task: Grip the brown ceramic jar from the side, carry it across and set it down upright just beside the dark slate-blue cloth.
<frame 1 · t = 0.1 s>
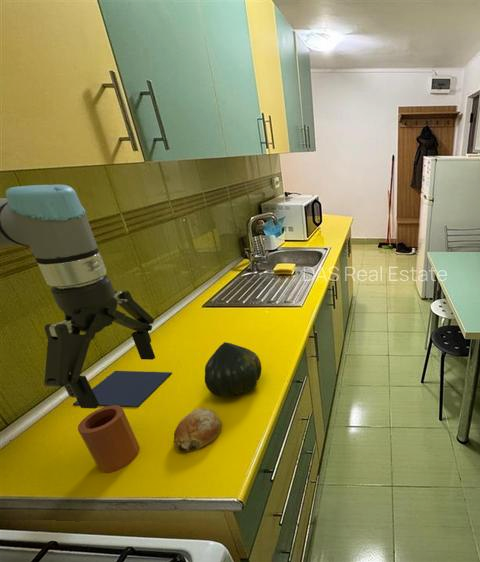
hand: (122, 380, 60), 23 cm above the counter, tool pointing down, fingers open, 13 cm apart
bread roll: (199, 436, 75), on the counter
squash: (236, 387, 90), on the counter
jar: (120, 457, 70), on the counter
cloth: (126, 388, 90), on the counter
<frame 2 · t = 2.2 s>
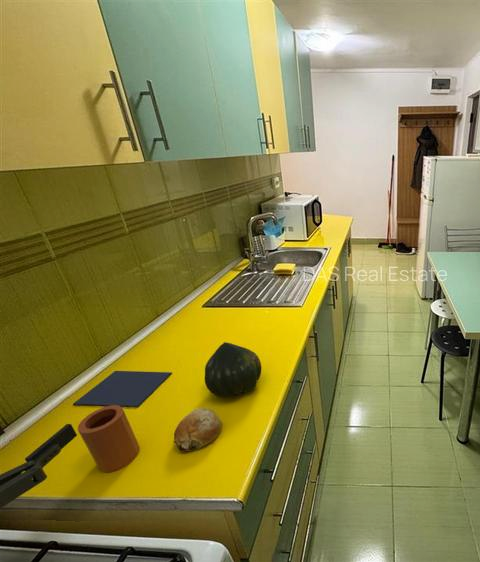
hand: (35, 428, 53), 20 cm above the counter, tool horizontal, fingers open, 13 cm apart
nothing on the counter moved.
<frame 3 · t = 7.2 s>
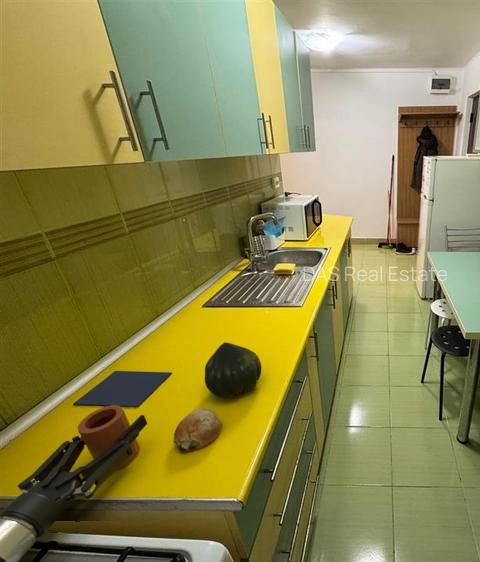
hand: (127, 418, 71), 7 cm above the counter, tool horizontal, fingers closed on jar, 7 cm apart
jar: (120, 457, 70), on the counter, touching gripper
everything else where it was.
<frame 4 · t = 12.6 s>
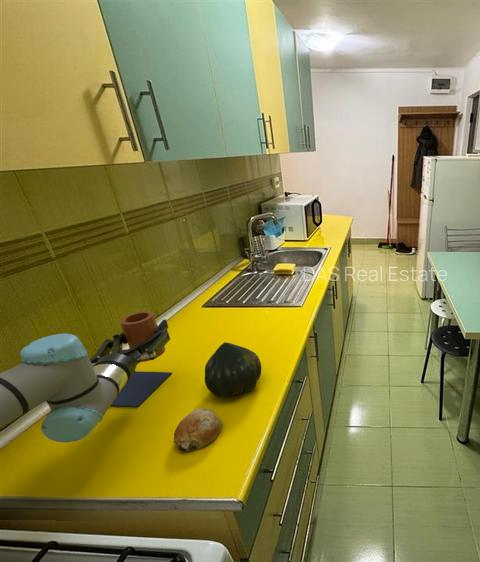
hand: (150, 325, 89), 18 cm above the counter, tool horizontal, fingers closed on jar, 7 cm apart
jar: (150, 353, 87), point 11 cm above the counter, touching gripper
everything else where it was.
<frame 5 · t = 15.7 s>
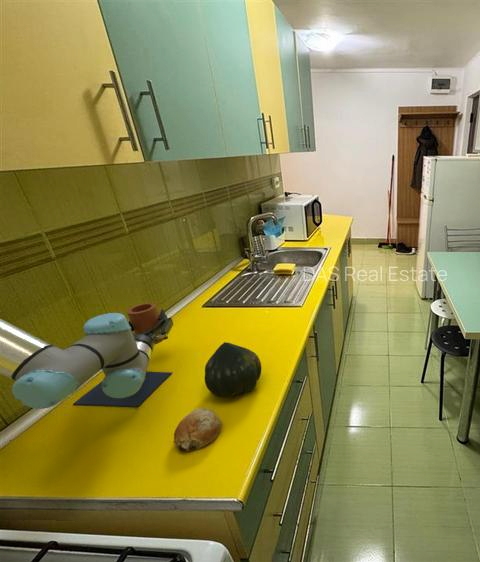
hand: (149, 316, 102), 14 cm above the counter, tool horizontal, fingers closed on jar, 7 cm apart
jar: (152, 340, 100), point 8 cm above the counter, touching gripper
everything else where it was.
when the fingers open (7 cm above the counter, at t = 18.2 s): jar stays where it is, on the counter.
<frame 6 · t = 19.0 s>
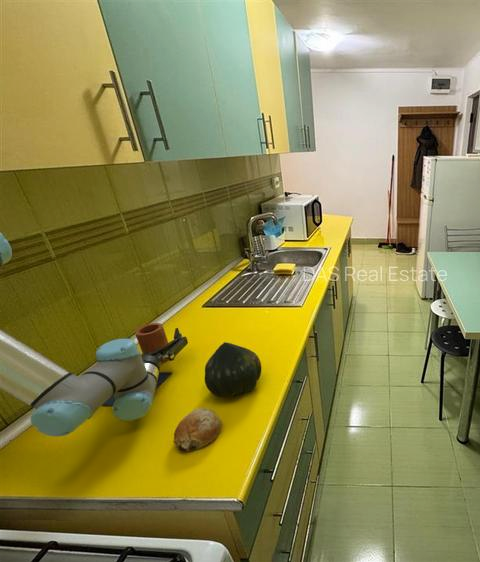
hand: (154, 336, 103), 7 cm above the counter, tool horizontal, fingers open, 13 cm apart
jar: (159, 359, 103), on the counter
everything else where it was.
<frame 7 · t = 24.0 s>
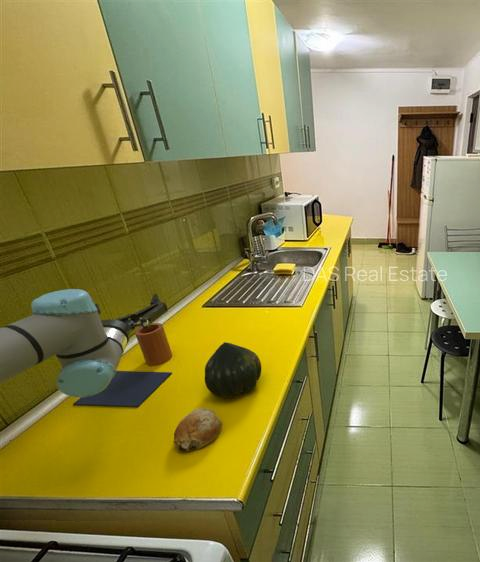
hand: (128, 303, 85), 26 cm above the counter, tool horizontal, fingers open, 13 cm apart
nothing on the counter moved.
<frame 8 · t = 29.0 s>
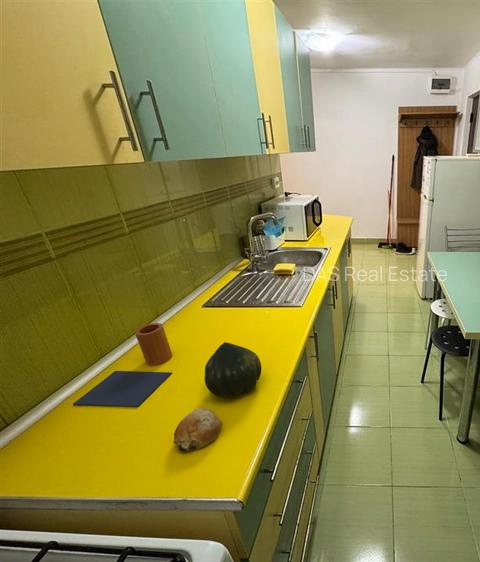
nothing on the counter moved.
at the end: jar inside the target area on the counter beside the cloth (0.8 cm from its centre), on the counter; jar tilted 0°; the gripper is holding nothing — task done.
